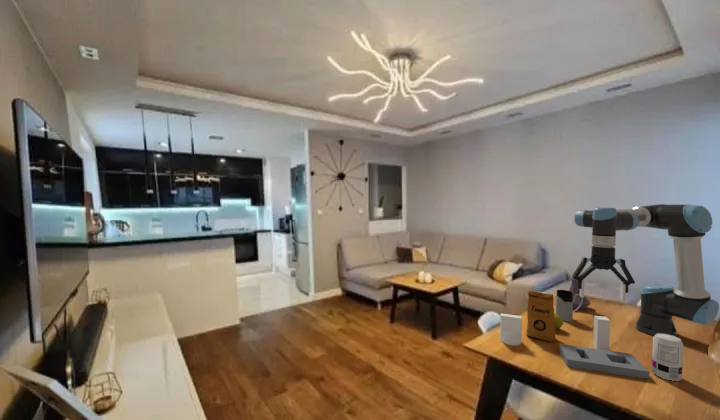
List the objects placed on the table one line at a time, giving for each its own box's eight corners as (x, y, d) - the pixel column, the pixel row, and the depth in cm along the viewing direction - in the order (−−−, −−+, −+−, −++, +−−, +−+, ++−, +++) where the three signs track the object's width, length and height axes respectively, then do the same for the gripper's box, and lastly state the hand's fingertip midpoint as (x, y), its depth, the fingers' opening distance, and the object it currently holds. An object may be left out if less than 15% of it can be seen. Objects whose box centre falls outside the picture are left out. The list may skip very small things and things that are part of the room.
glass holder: (551, 315, 181) (552, 289, 180) (577, 315, 180) (577, 289, 179) (560, 321, 172) (561, 294, 171) (587, 321, 171) (588, 294, 171)
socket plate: (631, 360, 131) (631, 353, 131) (648, 379, 118) (649, 371, 117) (558, 350, 140) (558, 343, 140) (567, 366, 127) (567, 359, 127)
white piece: (520, 338, 151) (521, 314, 151) (521, 346, 143) (522, 320, 143) (500, 335, 155) (500, 311, 155) (499, 343, 147) (500, 317, 146)
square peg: (605, 347, 142) (606, 316, 142) (609, 352, 138) (610, 320, 137) (593, 345, 144) (594, 315, 143) (596, 350, 140) (597, 319, 139)
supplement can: (645, 370, 123) (647, 333, 123) (665, 369, 124) (666, 332, 123) (667, 383, 115) (669, 342, 115) (688, 381, 116) (690, 341, 115)
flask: (566, 311, 187) (567, 277, 186) (554, 301, 203) (554, 271, 202) (597, 312, 184) (598, 278, 184) (582, 303, 201) (583, 272, 200)
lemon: (566, 329, 161) (566, 314, 161) (559, 333, 157) (560, 317, 156) (543, 322, 170) (543, 308, 170) (536, 326, 165) (536, 311, 165)
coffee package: (553, 345, 145) (555, 297, 144) (524, 337, 153) (524, 292, 152) (557, 337, 153) (558, 292, 152) (529, 330, 161) (529, 287, 160)
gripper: (569, 245, 127) (568, 297, 128) (647, 249, 119) (645, 305, 120) (564, 243, 134) (563, 292, 135) (637, 246, 126) (635, 299, 127)
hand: (601, 298), depth 128 cm, fingers open, 13 cm apart
